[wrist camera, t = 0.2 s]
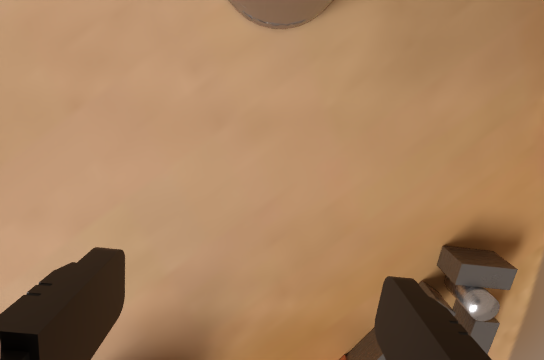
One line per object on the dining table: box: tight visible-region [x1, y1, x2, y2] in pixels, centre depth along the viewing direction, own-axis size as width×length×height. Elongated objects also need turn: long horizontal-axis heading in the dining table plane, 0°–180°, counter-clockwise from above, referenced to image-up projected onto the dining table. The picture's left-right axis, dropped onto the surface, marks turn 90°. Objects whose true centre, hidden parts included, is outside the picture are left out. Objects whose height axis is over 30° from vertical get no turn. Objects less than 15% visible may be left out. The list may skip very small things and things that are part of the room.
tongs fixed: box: [437, 246, 518, 354], centre depth 30 cm, size 21×5×4 cm, turn 173°
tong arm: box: [340, 281, 456, 360], centre depth 31 cm, size 16×3×3 cm, turn 143°
